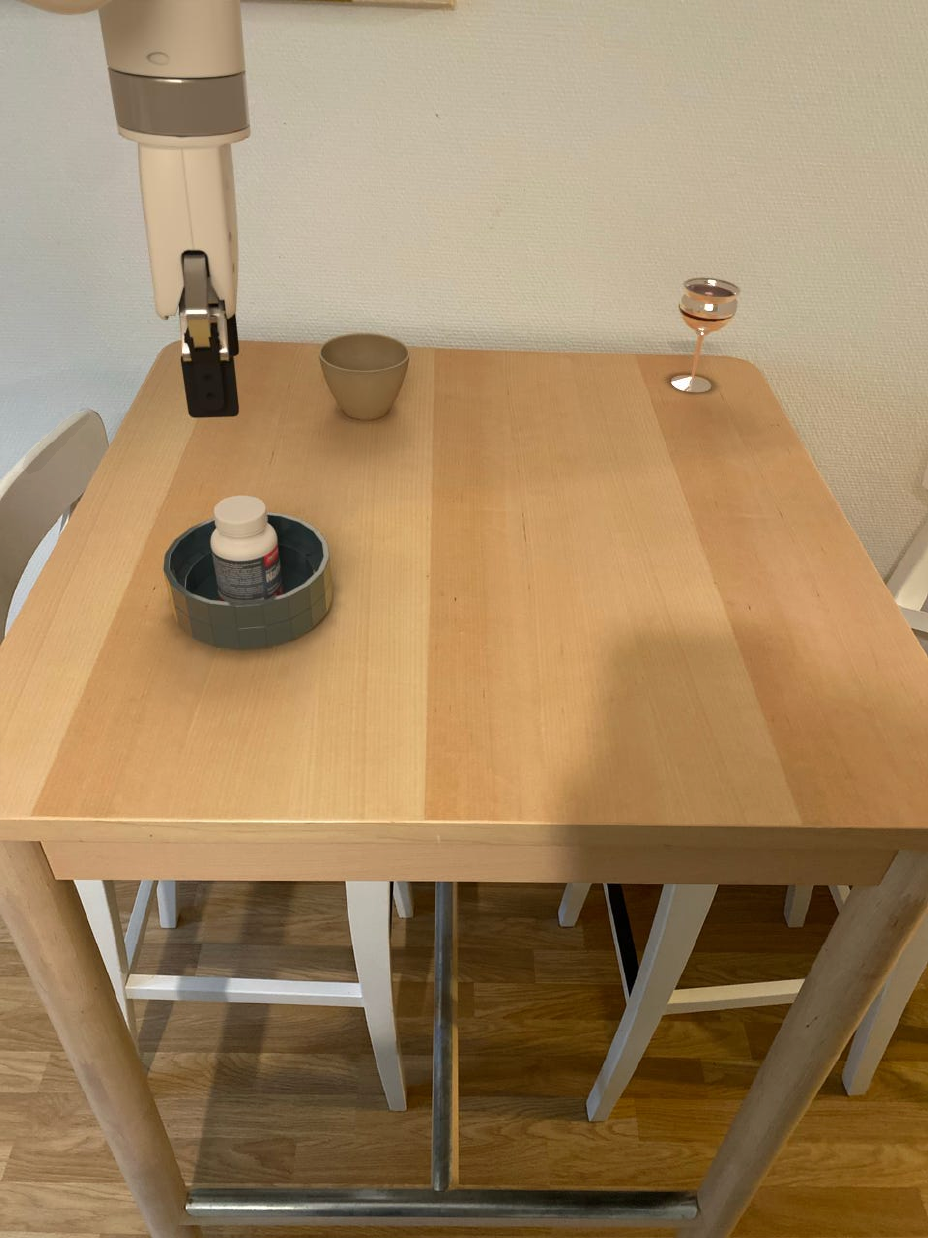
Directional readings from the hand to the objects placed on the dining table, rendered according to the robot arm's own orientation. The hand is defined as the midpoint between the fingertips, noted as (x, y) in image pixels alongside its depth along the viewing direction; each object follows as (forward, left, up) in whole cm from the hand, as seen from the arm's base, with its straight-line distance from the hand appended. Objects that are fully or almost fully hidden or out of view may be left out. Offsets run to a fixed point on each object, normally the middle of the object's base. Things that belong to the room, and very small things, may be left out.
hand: (215, 383), depth 63 cm
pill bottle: (0, 0, -20) cm, 20 cm away
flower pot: (+14, +34, -20) cm, 42 cm away
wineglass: (+55, +37, -20) cm, 69 cm away
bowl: (+1, 0, -20) cm, 20 cm away
